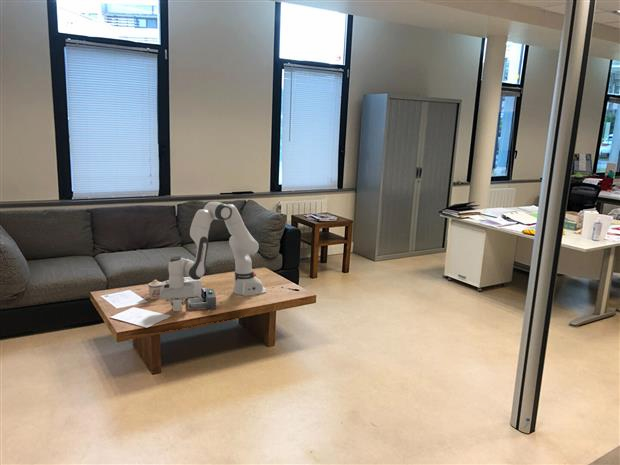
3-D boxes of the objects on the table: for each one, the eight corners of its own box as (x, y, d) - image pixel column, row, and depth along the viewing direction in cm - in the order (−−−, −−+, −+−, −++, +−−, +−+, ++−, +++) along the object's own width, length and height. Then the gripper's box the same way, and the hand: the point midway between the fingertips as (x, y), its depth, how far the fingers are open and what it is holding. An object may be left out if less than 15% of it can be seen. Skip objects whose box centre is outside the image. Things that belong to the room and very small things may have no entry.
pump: (181, 307, 302) (180, 293, 300) (181, 310, 298) (181, 296, 296) (172, 308, 301) (172, 294, 299) (173, 311, 296) (172, 297, 294)
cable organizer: (178, 299, 315) (178, 282, 312) (174, 294, 324) (174, 277, 321) (201, 296, 322) (201, 279, 319) (197, 291, 331) (196, 275, 328)
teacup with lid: (152, 300, 312) (151, 283, 309) (146, 296, 319) (145, 279, 316) (169, 296, 320) (169, 279, 317) (163, 292, 326) (163, 276, 324)
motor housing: (213, 300, 316) (212, 286, 314) (216, 309, 302) (216, 295, 300) (187, 302, 312) (187, 288, 309) (189, 311, 297) (189, 297, 295)
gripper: (193, 280, 302) (194, 301, 305) (159, 282, 295) (159, 304, 298) (194, 283, 296) (194, 305, 299) (159, 286, 289) (160, 307, 293)
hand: (177, 304), depth 299 cm, fingers closed on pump, 5 cm apart
